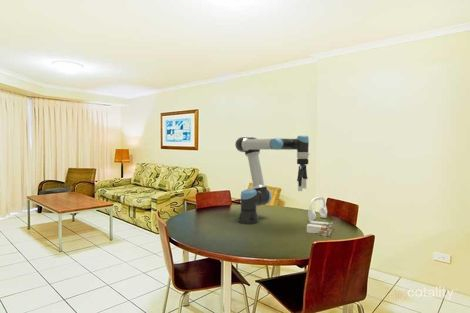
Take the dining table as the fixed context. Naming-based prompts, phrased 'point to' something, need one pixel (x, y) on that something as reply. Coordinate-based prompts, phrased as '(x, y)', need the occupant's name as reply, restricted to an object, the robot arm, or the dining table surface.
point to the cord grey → (319, 223)
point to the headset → (322, 210)
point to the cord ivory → (315, 228)
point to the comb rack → (328, 232)
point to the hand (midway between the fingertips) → (302, 189)
